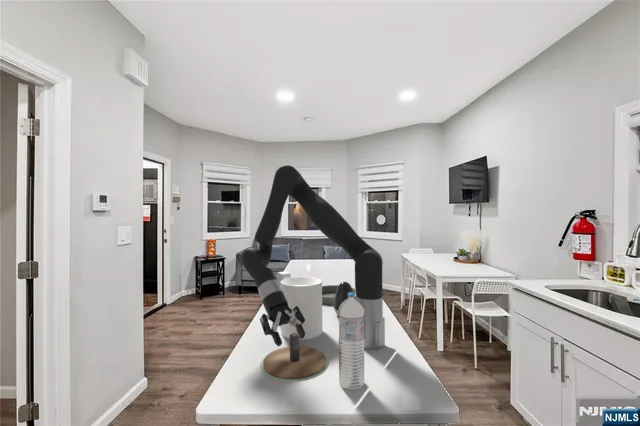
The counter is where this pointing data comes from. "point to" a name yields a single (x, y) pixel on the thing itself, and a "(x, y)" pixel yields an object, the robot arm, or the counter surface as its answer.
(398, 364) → the counter surface
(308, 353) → the lid
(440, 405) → the counter surface
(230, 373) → the counter surface
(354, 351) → the water bottle
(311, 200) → the robot arm
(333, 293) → the cake pan
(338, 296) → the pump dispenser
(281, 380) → the mat
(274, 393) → the counter surface
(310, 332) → the canister
